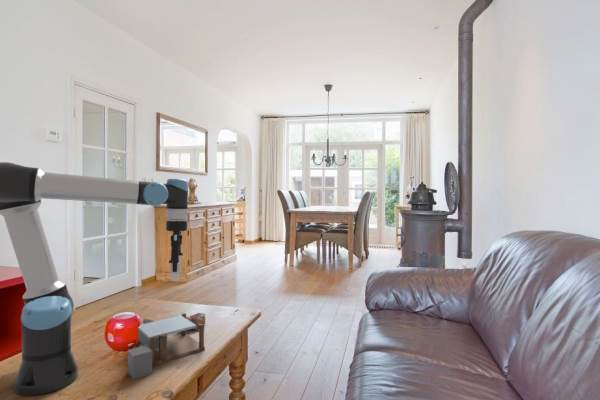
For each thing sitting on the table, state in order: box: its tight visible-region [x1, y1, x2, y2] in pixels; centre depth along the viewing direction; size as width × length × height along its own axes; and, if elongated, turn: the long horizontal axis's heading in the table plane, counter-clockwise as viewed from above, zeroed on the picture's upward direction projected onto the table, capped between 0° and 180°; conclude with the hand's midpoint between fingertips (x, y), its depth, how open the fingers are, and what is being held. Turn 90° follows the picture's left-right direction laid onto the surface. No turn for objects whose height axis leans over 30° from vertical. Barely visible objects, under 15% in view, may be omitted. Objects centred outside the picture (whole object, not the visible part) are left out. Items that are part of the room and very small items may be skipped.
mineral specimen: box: [186, 312, 206, 331], centre depth 146 cm, size 12×8×7 cm
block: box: [127, 345, 153, 380], centre depth 110 cm, size 6×6×7 cm
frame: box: [133, 312, 206, 367], centre depth 126 cm, size 19×18×9 cm
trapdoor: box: [138, 315, 196, 349], centre depth 125 cm, size 16×13×4 cm
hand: (175, 276), depth 135 cm, fingers open, 13 cm apart
